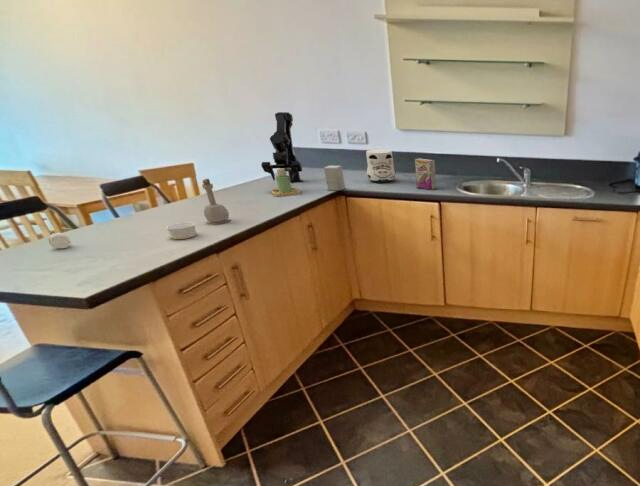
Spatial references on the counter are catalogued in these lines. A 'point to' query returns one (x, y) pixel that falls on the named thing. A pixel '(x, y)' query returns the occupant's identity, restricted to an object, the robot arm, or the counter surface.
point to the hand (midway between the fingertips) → (282, 180)
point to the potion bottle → (214, 206)
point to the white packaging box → (334, 177)
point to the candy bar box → (425, 174)
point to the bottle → (284, 184)
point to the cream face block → (380, 166)
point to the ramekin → (182, 230)
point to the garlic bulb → (59, 240)
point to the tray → (276, 193)
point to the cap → (281, 172)
